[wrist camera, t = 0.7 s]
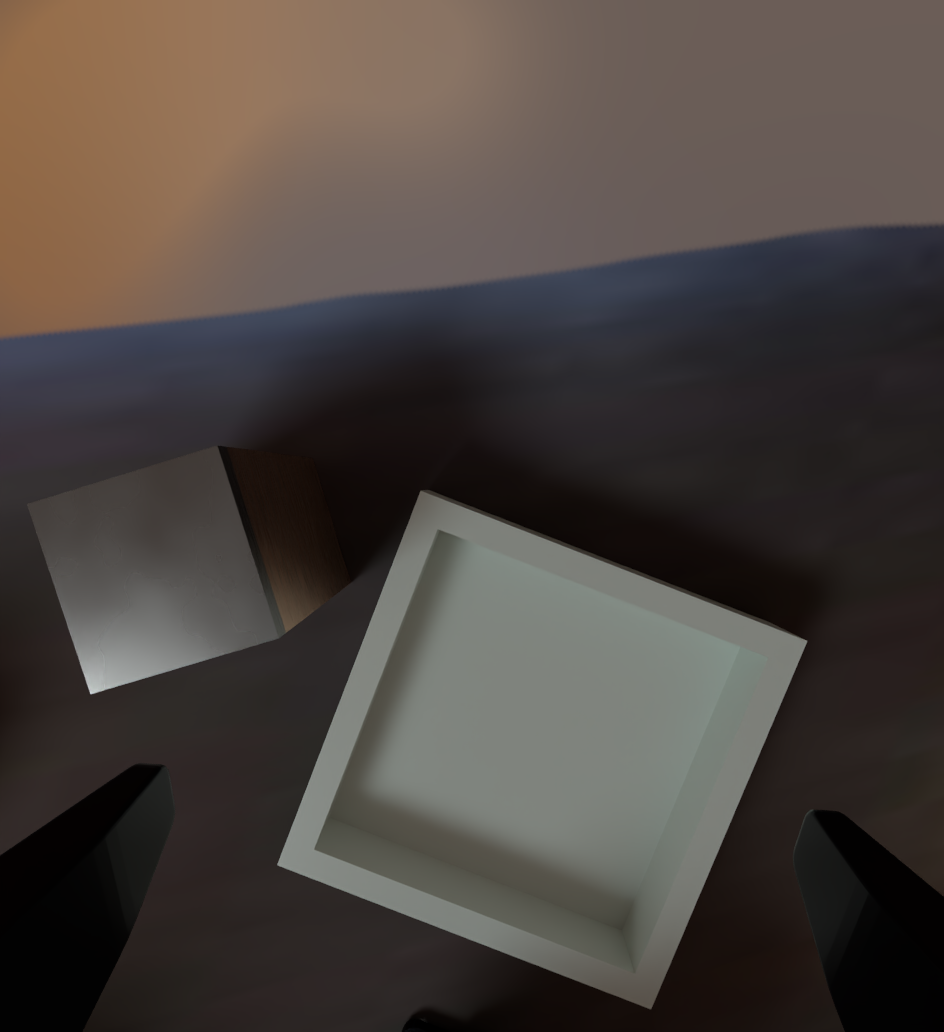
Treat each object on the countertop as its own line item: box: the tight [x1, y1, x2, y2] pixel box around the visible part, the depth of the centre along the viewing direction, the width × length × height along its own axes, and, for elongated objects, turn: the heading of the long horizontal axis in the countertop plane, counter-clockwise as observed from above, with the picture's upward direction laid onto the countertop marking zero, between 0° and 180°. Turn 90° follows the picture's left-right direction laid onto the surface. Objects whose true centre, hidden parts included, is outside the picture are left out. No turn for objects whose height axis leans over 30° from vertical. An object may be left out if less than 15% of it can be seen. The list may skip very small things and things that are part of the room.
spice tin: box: [27, 446, 351, 694], centre depth 21 cm, size 5×5×9 cm
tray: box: [277, 490, 807, 1009], centre depth 24 cm, size 14×14×3 cm
